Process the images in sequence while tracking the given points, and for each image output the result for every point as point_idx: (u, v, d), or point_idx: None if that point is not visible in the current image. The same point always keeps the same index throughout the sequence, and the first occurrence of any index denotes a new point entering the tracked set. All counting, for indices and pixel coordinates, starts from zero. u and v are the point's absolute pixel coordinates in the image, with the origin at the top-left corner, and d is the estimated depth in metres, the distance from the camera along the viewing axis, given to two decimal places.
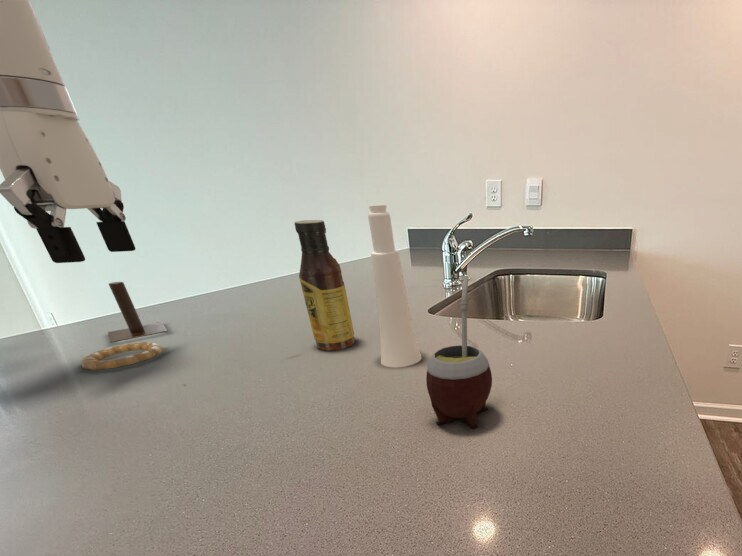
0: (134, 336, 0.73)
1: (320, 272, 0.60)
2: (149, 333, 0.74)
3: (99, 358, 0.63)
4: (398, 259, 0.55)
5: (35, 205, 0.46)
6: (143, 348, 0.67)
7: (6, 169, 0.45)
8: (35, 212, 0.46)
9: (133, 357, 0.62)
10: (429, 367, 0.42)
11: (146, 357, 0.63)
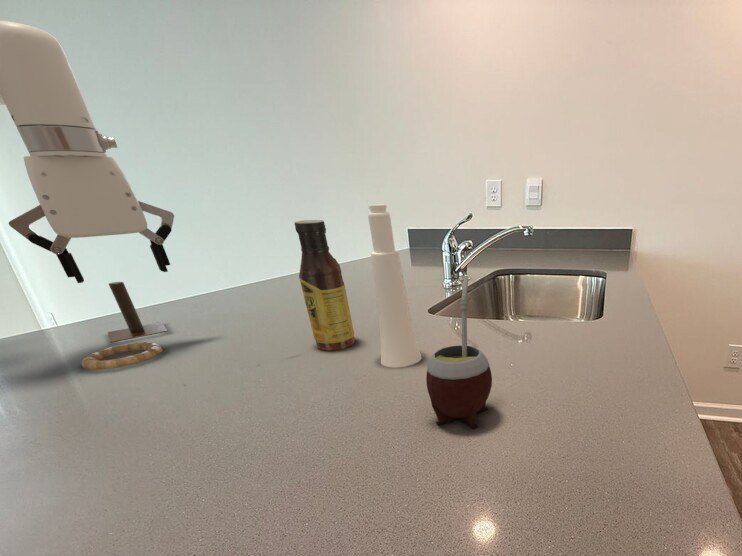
0: (134, 336, 0.73)
1: (320, 272, 0.60)
2: (149, 333, 0.74)
3: (99, 358, 0.63)
4: (398, 259, 0.55)
5: (34, 236, 0.54)
6: (143, 348, 0.67)
7: None
8: (33, 242, 0.54)
9: (133, 357, 0.62)
10: (429, 367, 0.42)
11: (146, 357, 0.63)
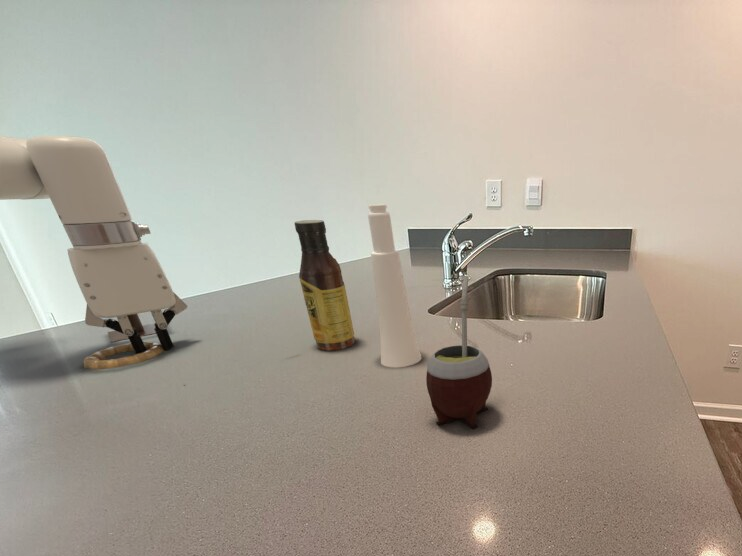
0: None
1: (320, 272, 0.60)
2: (149, 333, 0.74)
3: (101, 358, 0.63)
4: (398, 259, 0.55)
5: (110, 322, 0.61)
6: None
7: None
8: (109, 327, 0.61)
9: (135, 357, 0.62)
10: (429, 367, 0.42)
11: (148, 357, 0.63)
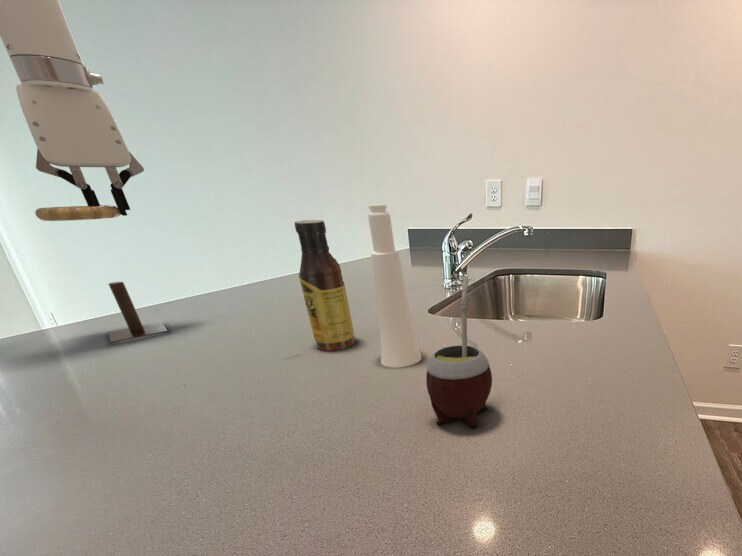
0: (134, 336, 0.73)
1: (320, 272, 0.60)
2: (149, 333, 0.74)
3: None
4: (398, 259, 0.55)
5: (62, 171, 0.61)
6: None
7: (32, 133, 0.60)
8: (61, 176, 0.61)
9: (87, 207, 0.62)
10: (429, 367, 0.42)
11: (101, 210, 0.63)
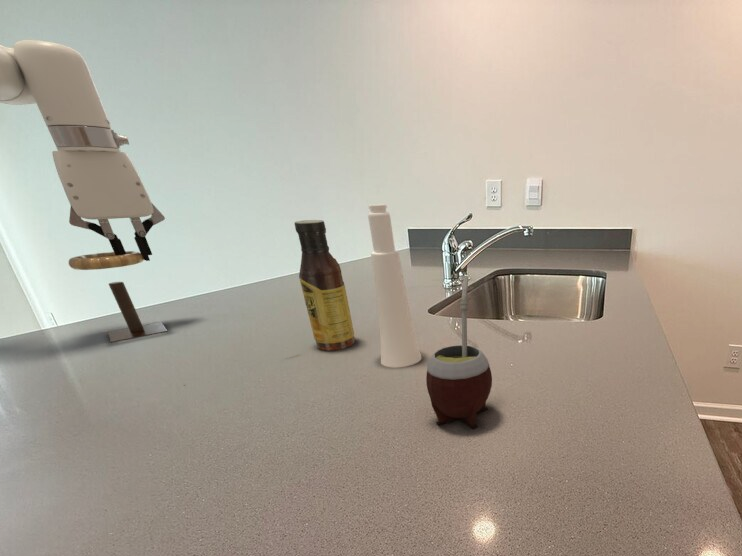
0: (134, 336, 0.73)
1: (320, 272, 0.60)
2: (149, 333, 0.74)
3: None
4: (398, 259, 0.55)
5: (92, 224, 0.67)
6: None
7: (65, 191, 0.66)
8: (91, 229, 0.67)
9: (115, 257, 0.68)
10: (429, 367, 0.42)
11: (127, 259, 0.69)
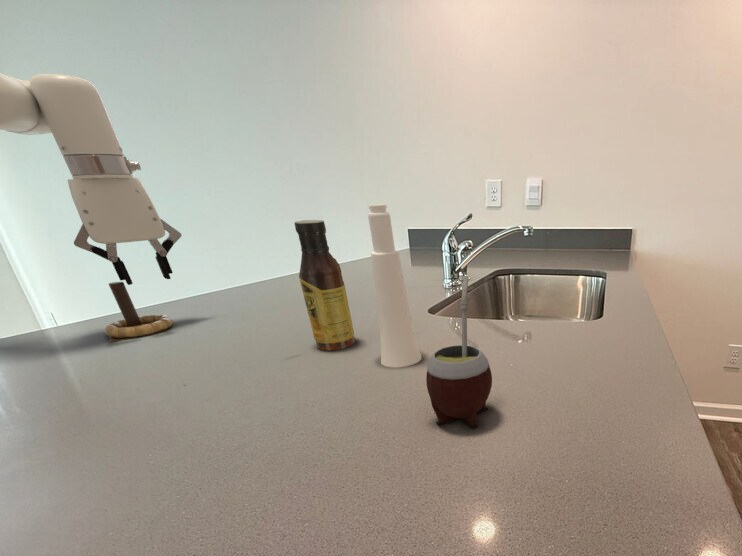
0: None
1: (320, 272, 0.60)
2: None
3: (119, 326, 0.75)
4: (398, 259, 0.55)
5: (96, 248, 0.68)
6: (156, 319, 0.78)
7: (80, 217, 0.68)
8: (95, 252, 0.68)
9: (148, 325, 0.73)
10: (429, 367, 0.42)
11: (159, 326, 0.75)
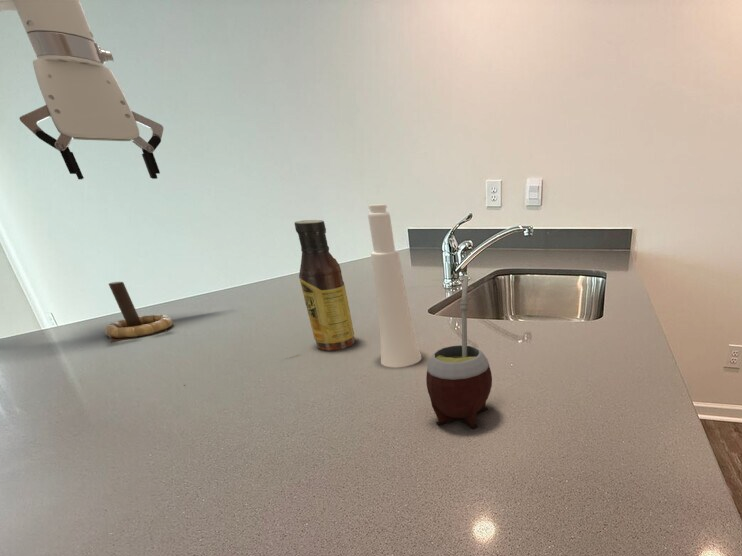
0: None
1: (320, 272, 0.60)
2: None
3: (119, 326, 0.75)
4: (398, 259, 0.55)
5: (41, 132, 0.63)
6: (156, 319, 0.78)
7: None
8: (40, 137, 0.63)
9: (148, 325, 0.73)
10: (429, 367, 0.42)
11: (159, 326, 0.75)
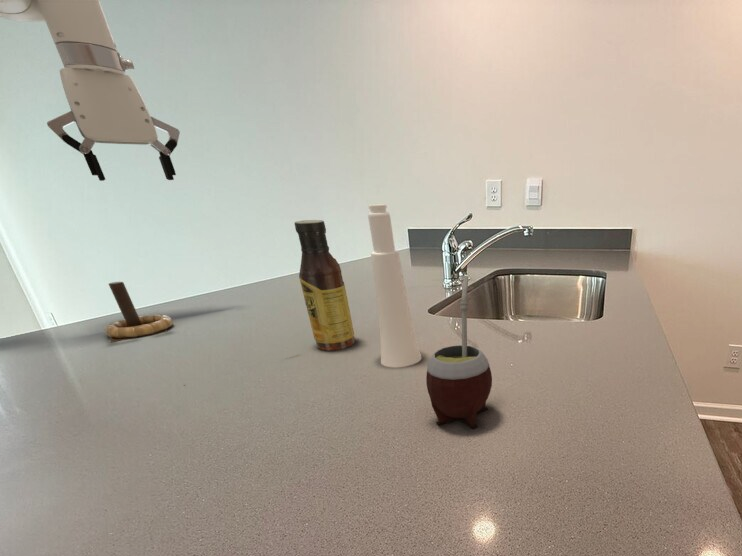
0: None
1: (320, 272, 0.60)
2: None
3: (119, 326, 0.75)
4: (398, 259, 0.55)
5: (66, 136, 0.66)
6: (156, 319, 0.78)
7: None
8: (65, 141, 0.66)
9: (148, 325, 0.73)
10: (429, 367, 0.42)
11: (159, 326, 0.75)
